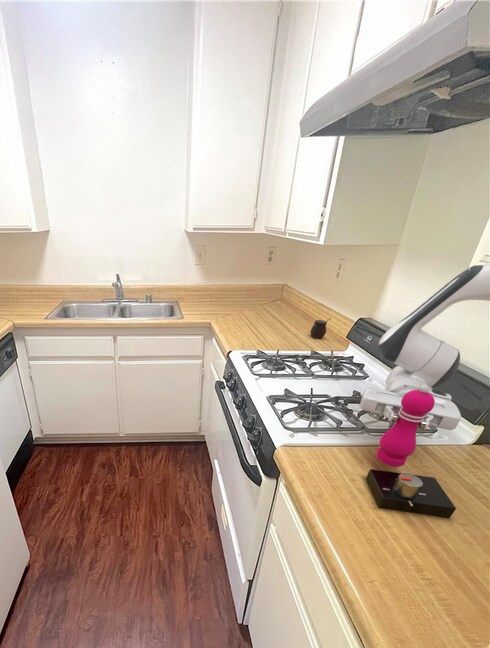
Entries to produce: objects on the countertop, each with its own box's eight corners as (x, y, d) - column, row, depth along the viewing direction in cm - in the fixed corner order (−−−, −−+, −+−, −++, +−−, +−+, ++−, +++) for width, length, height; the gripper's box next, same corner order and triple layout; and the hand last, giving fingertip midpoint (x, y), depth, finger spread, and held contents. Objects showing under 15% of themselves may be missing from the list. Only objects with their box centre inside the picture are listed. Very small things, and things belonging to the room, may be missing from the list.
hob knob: (411, 486, 76) (418, 473, 74) (419, 500, 73) (427, 487, 71) (389, 483, 77) (396, 470, 75) (396, 497, 74) (404, 483, 71)
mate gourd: (309, 334, 178) (314, 314, 172) (324, 336, 176) (330, 316, 170) (309, 338, 172) (314, 318, 167) (325, 340, 170) (331, 319, 165)
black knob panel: (428, 487, 81) (435, 476, 79) (452, 523, 72) (460, 512, 70) (365, 478, 83) (370, 468, 81) (380, 512, 74) (386, 501, 72)
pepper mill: (388, 448, 89) (423, 376, 77) (413, 465, 83) (454, 390, 72) (366, 453, 87) (398, 380, 76) (390, 470, 81) (429, 395, 70)
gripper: (365, 377, 90) (362, 399, 80) (459, 396, 83) (469, 423, 72) (357, 399, 94) (353, 422, 84) (446, 419, 86) (455, 447, 76)
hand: (408, 422), depth 78 cm, fingers closed on pepper mill, 4 cm apart
